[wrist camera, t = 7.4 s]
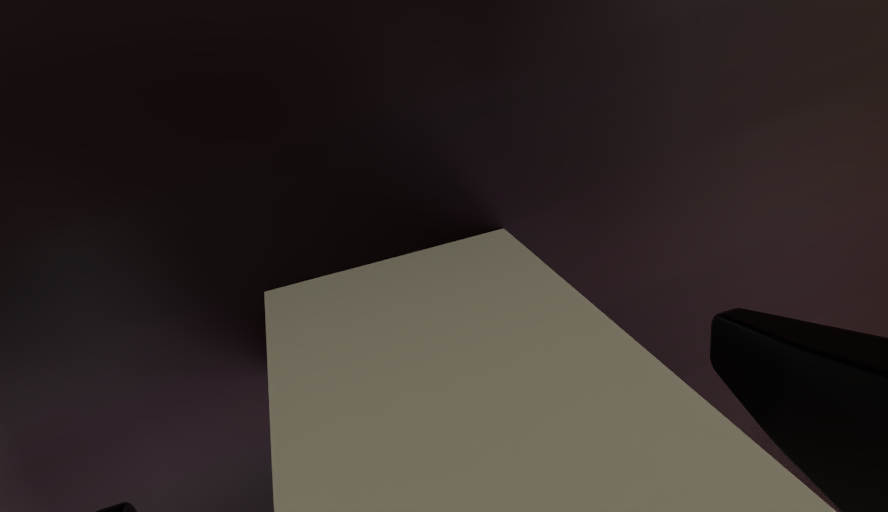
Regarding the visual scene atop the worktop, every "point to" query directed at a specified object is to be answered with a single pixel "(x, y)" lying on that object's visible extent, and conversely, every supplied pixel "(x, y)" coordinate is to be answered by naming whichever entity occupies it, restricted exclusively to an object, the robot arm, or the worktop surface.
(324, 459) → the domino
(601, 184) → the worktop surface
